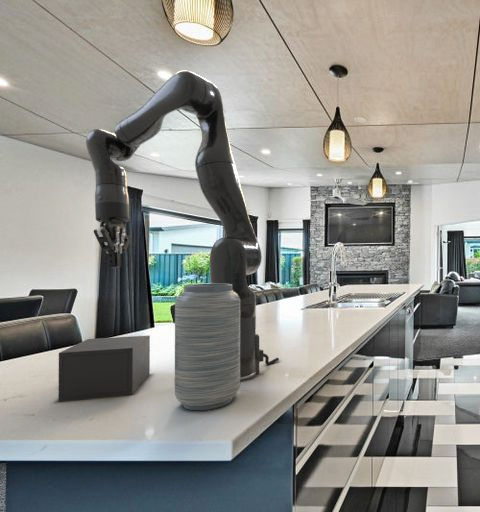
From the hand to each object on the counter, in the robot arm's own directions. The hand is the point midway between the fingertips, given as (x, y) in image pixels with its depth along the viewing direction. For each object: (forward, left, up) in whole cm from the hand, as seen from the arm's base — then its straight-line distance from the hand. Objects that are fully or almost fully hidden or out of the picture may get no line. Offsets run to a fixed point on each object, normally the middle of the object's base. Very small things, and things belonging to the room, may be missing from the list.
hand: (114, 267), depth 103 cm
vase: (-4, +46, -26) cm, 53 cm away
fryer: (+6, +20, -26) cm, 33 cm away
